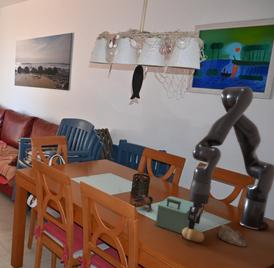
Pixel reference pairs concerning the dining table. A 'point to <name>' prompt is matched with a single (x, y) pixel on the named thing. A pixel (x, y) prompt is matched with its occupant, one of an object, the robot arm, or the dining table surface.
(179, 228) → the bin
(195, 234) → the potato
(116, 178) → the dining table surface
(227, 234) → the oyster shell
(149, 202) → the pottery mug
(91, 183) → the dining table surface
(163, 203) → the bin lid
